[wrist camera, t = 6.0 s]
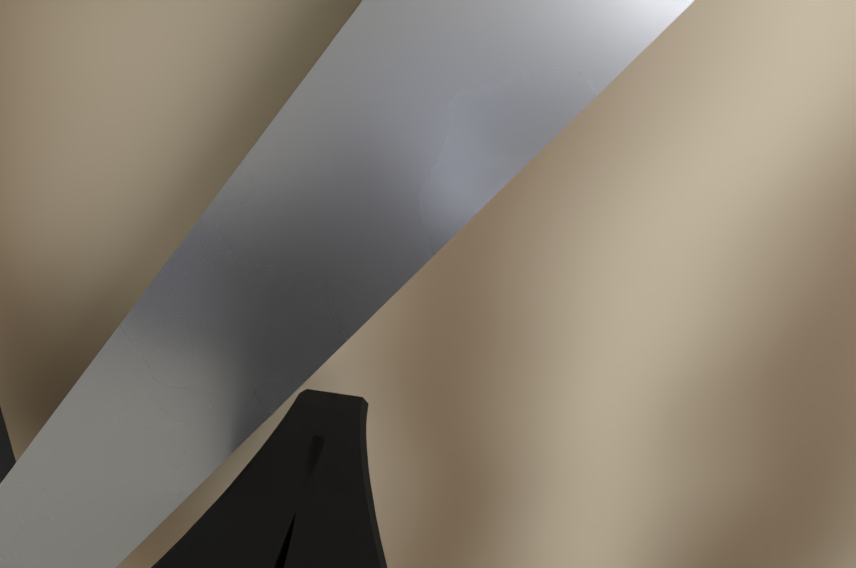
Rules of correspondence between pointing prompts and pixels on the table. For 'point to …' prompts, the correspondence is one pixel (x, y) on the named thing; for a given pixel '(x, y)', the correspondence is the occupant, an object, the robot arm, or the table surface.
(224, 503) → the robot arm
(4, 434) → the table surface
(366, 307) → the lever
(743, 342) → the cracker board
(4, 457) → the table surface
